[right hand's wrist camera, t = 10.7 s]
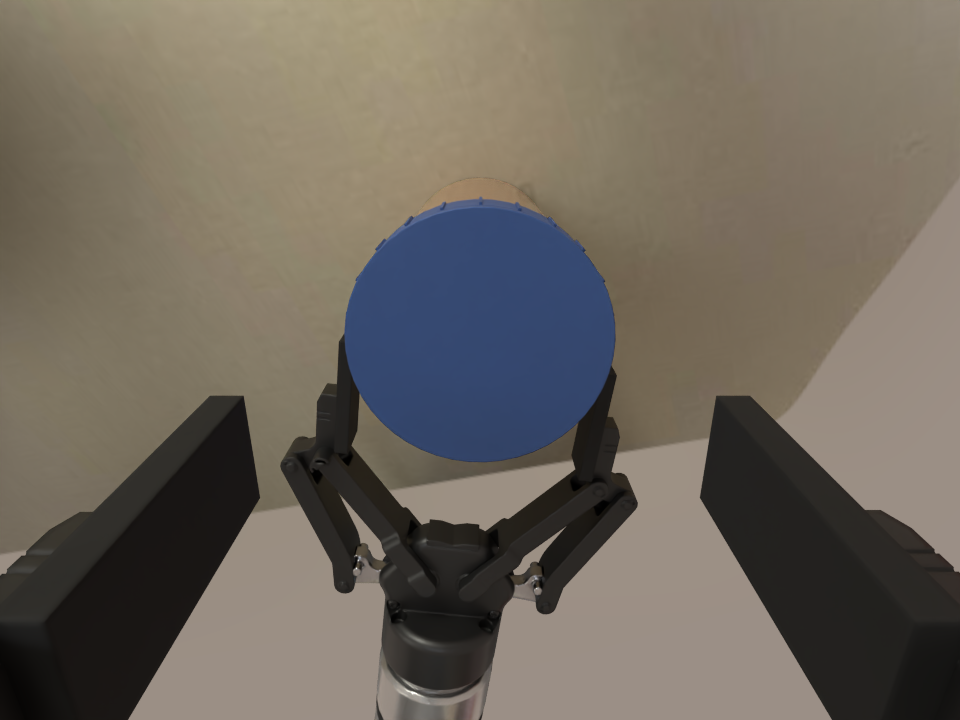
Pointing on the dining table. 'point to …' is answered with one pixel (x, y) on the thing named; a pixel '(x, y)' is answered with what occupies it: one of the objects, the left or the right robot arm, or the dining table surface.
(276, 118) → the dining table surface
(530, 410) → the lid
